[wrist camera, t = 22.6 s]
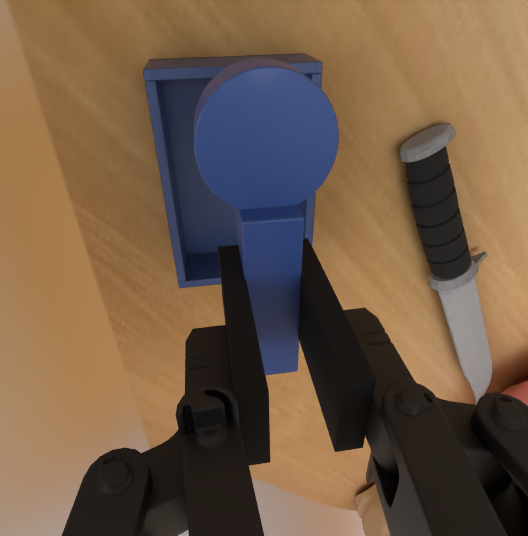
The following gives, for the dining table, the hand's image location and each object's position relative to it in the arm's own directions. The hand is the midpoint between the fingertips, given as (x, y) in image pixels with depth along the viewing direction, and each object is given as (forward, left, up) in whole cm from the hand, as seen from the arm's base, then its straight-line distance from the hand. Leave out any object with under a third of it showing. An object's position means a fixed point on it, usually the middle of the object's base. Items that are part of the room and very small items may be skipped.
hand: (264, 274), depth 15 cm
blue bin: (0, 0, -13) cm, 13 cm away
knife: (+18, +11, -13) cm, 25 cm away
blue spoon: (-2, +1, 0) cm, 2 cm away
